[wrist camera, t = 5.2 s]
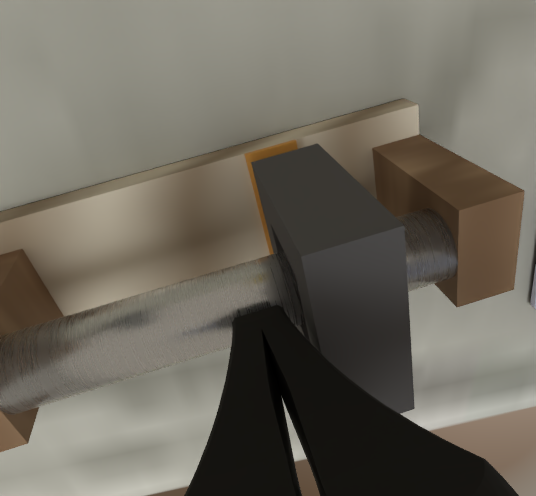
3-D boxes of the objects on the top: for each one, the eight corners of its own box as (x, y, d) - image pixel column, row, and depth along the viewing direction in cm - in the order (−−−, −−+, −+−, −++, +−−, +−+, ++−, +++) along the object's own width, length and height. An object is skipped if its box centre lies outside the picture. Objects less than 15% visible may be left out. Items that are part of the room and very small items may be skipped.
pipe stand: (403, 98, 18) (530, 151, 12) (409, 223, 21) (512, 318, 15) (-37, 222, 17) (-156, 354, 10) (39, 335, 20) (-17, 488, 14)
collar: (317, 143, 15) (404, 225, 10) (340, 287, 18) (414, 408, 13) (251, 162, 15) (301, 256, 9) (286, 304, 18) (338, 433, 13)
